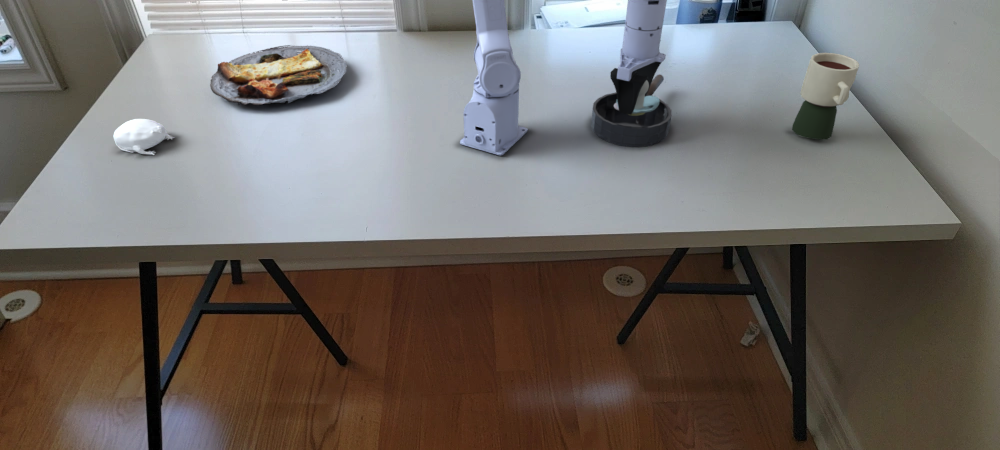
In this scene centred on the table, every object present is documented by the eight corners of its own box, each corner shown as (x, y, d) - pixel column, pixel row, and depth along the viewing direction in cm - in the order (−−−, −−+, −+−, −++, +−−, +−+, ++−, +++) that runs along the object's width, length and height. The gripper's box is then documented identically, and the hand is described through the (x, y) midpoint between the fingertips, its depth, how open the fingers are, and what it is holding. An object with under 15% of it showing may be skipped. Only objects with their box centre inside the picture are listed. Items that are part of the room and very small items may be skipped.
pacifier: (606, 105, 111) (620, 120, 107) (610, 70, 108) (624, 84, 103) (646, 101, 113) (661, 115, 108) (651, 66, 109) (667, 80, 105)
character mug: (846, 150, 105) (875, 75, 97) (803, 151, 105) (828, 76, 97) (816, 118, 114) (840, 47, 106) (777, 119, 114) (797, 48, 106)
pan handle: (646, 104, 114) (647, 96, 113) (637, 102, 114) (638, 94, 113) (664, 82, 121) (665, 74, 120) (655, 80, 121) (657, 72, 120)
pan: (654, 154, 104) (657, 135, 102) (579, 135, 109) (580, 116, 107) (677, 120, 113) (681, 102, 111) (607, 103, 118) (609, 85, 116)
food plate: (218, 122, 112) (213, 103, 110) (207, 70, 129) (202, 53, 127) (360, 95, 120) (358, 77, 118) (332, 49, 137) (330, 33, 135)
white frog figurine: (179, 136, 108) (172, 116, 106) (154, 157, 103) (146, 136, 101) (137, 131, 110) (129, 111, 107) (110, 151, 104) (101, 131, 102)
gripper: (654, 45, 94) (641, 128, 102) (682, 14, 104) (669, 92, 112) (608, 36, 96) (599, 118, 105) (640, 6, 106) (630, 83, 115)
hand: (632, 104), depth 108 cm, fingers closed on pacifier, 6 cm apart
